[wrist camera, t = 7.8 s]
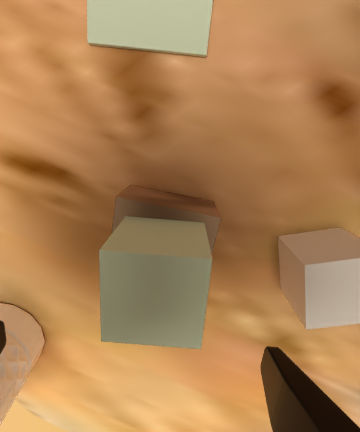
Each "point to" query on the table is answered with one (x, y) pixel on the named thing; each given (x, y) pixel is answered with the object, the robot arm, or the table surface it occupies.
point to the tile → (151, 25)
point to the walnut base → (166, 208)
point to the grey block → (321, 276)
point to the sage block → (155, 282)
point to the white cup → (17, 353)
